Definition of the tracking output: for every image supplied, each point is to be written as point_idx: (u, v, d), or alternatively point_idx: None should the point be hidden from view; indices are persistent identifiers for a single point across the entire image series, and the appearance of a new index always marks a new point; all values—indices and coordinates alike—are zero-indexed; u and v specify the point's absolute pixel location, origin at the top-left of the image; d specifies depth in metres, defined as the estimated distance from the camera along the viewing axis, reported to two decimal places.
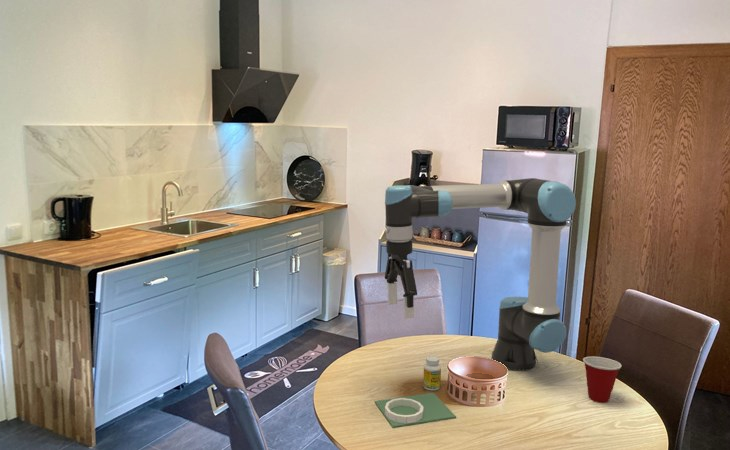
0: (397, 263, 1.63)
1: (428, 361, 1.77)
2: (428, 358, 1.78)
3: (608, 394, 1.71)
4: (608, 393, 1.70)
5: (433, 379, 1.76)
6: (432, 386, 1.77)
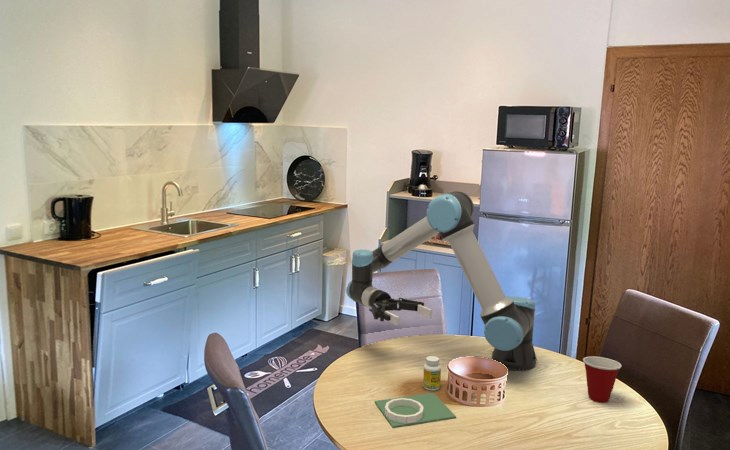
0: None
1: (428, 361, 1.77)
2: (428, 358, 1.78)
3: (608, 394, 1.71)
4: (608, 393, 1.70)
5: (433, 379, 1.76)
6: (432, 386, 1.77)
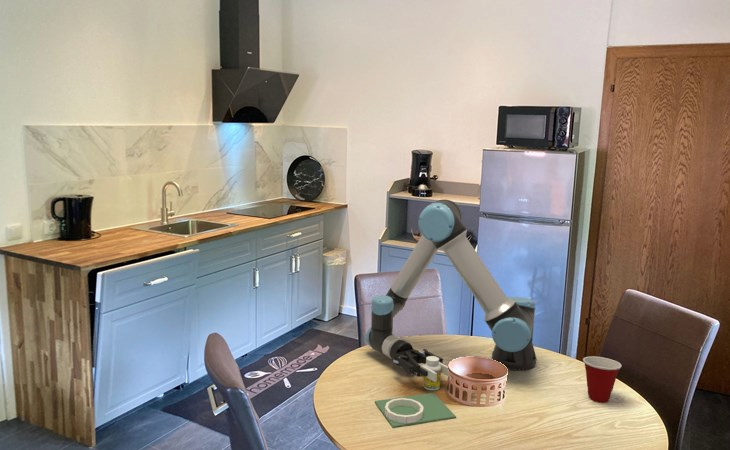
0: None
1: (428, 361, 1.77)
2: (428, 358, 1.78)
3: (608, 394, 1.71)
4: (608, 393, 1.70)
5: None
6: (432, 386, 1.77)
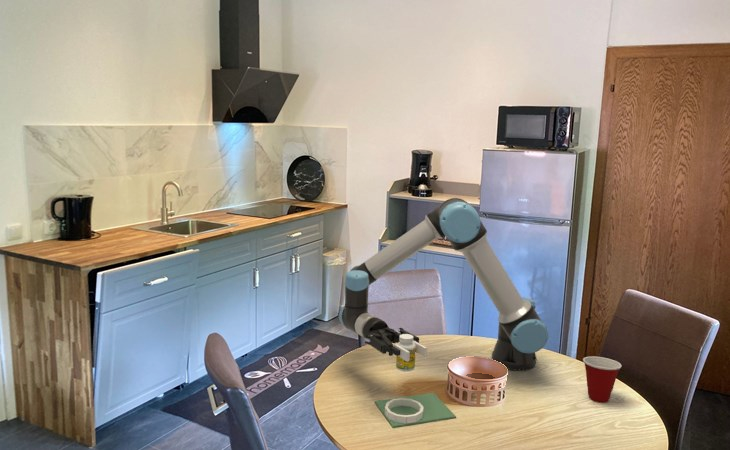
0: None
1: (401, 339, 1.61)
2: (401, 336, 1.62)
3: (608, 394, 1.71)
4: (608, 393, 1.70)
5: None
6: (405, 366, 1.61)
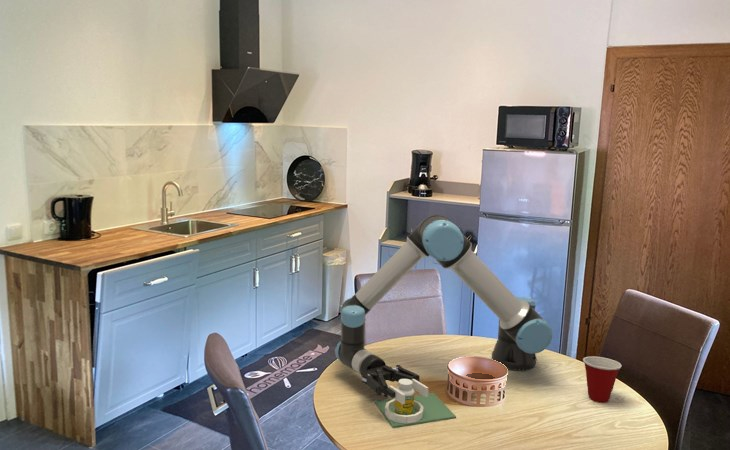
0: None
1: (400, 384, 1.59)
2: (400, 381, 1.60)
3: (608, 394, 1.71)
4: (608, 393, 1.70)
5: (406, 404, 1.58)
6: (403, 412, 1.59)
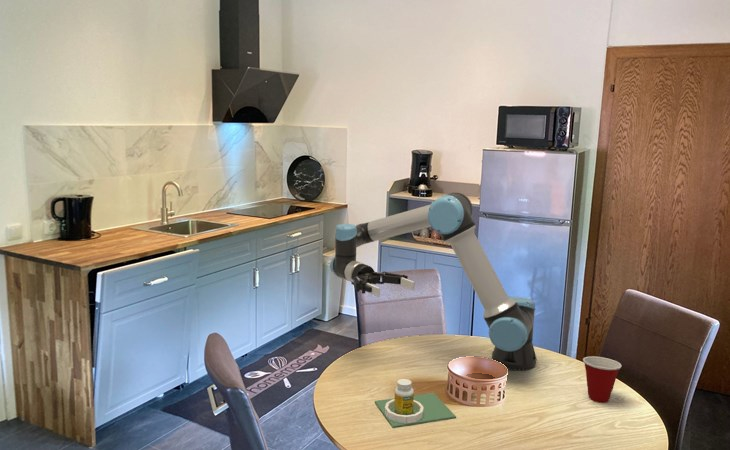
0: None
1: (399, 385, 1.59)
2: (399, 381, 1.60)
3: (608, 394, 1.71)
4: (608, 393, 1.70)
5: (405, 405, 1.58)
6: (404, 412, 1.59)
